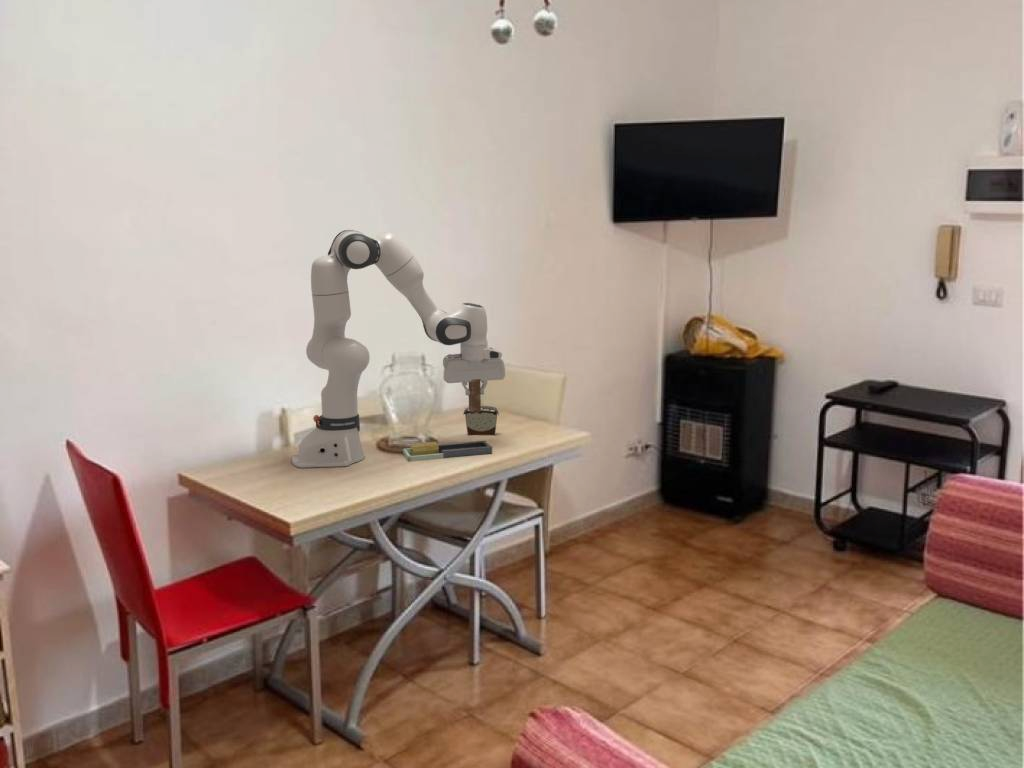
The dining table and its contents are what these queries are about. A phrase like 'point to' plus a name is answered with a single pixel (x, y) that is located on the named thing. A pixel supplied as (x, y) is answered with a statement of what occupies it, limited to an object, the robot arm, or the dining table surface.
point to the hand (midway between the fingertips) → (474, 394)
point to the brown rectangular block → (475, 396)
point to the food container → (481, 421)
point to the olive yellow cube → (432, 448)
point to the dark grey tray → (465, 449)
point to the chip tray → (421, 456)
